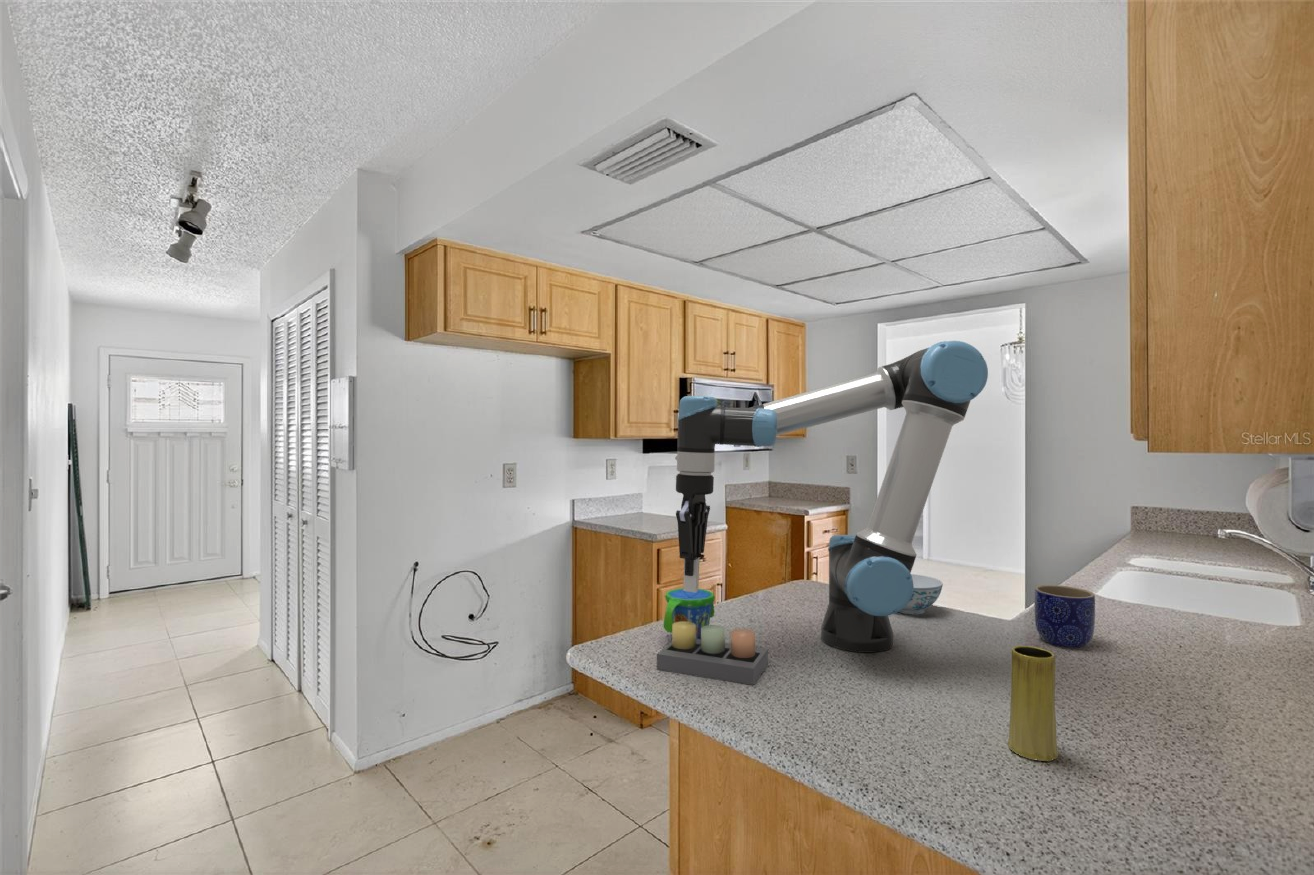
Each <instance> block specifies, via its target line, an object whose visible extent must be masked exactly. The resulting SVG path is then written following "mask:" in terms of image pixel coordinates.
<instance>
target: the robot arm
mask: <svg viewBox="0 0 1314 875" xmlns="http://www.w3.org/2000/svg"><path fill="white" fill-rule="evenodd" d="M988 370H989V369H988V364H987V361H986V359H985V358H984V356H983V355H982V353H981V352H980V351H979V350H978V349H977V348H976V347H975V346H973V345H971V344H970V343H967V342H964V341H961V340H949V341H946V340H944V341H939V342H937V343H934V344H932V345H931V346H929V347H926V348H924V349H921V350H918V351H915V352H914V353H911V355H908V356H905V357H904V358H902V359H900V360H896V361H895V362H892V363H889V364H886V365H881V366H879V367H878V368H877V369H876V371H875V372H874V373H871V374H867V375H863V376H861V377H856V378H853V379H850V380H845V381H842V382H839V383H835V384H832V385H828V386H823V387H820V388H817V389H813V390H810V391H806V392H805V391H804V392H802V393H798V394H794V395H792V396H788V397H783V398H780V399H777V400H776V399H775V400H773V401H770V402H764V403H763V404H760V405H758V404H757V405H754V406H751V407H725V406H718V403H717V402H718V401H717V398H716V397H714V396H706V395H705V396H703V395H687V396H686V395H685V396H683V397H682V398H681V399H680V400H679V403H678V404H679V406H678V415H677V416H678V418H677V449H676V450H677V451H676V452H677V453H676V455H675V457H674V459H675V460H676V471H677V472H679V473H677V475H675V491H676V492H677V493H679V494H682V501H681V507H680V509H681V510H676V511H675V516H676V521H677V534H678V547H679V548H678V551H679V552H678V553H679V556H678V557H679V559H683V580H682V581H683V584H682V585H683V586H682V587H683V591H688V592H695V593H696V592H697V591H698V589H699V581H700V559H705V554H704V552H705V546H706V538H707V529H708V520H709V515H710V510H711V506H710V505H708V504H707V502H706V501H707V499H706V495H711V494H713V492H714V480H715V479H714V475H712V473H714V472H715V461H716V460H715V458H716V457H715V456H716V451H715V450H716V449H715V448H716V445H719V446H720V445H722V446H724V445H727V446H728V445H729V446H740V447H741V446H742V447H743V446H745V447H757V448H760V447H761V448H762V447H771V446H773V445H775V443H776V442H777V436H780V435H785V434H788V433H792V432H796V431H799V430H804V429H807V428H810V427H811V428H812V427H814V426H818V425H822V424H826V423H830V422H833V421H837V420H840V419H841V420H842V419H844V418H848V417H853V416H856V415H859V414H864V413H868V412H872V411H875V410H880V409H882V408H886V409H887V410H889V411H893V410H898V409H900V408H904V410H905V412H906V414H905V416H904V419H903V422H902V424H901V428H900V431H899V434H898V436H897V440H896V443H895V446H894V449H893V451H892V454H891V457H890V459H889V463H888V466H887V469H886V472H885V474H884V477H883V480H882V483H881V486H880V489H879V492H878V495H877V497H876V500H875V503H874V506H873V510H872V513H871V515H870V518H869V520H868V521H869V522H868V524H867V527H866V528H864V529H863V530H860V531H858V532H856V534H834V535H832V536H831V537H830V538H829V544H828V549H827V551H828V605H827V608H826V612H825V614H824V617H823V620H822V623H821V626H820V639H821V641H822V642H823V643H825V644H827V645H829V646H831V647H833V648H835V649H836V648H838V649H840V650H844V651H850V652H858V653H876V652H877V653H878V652H884V651H888V650H890V649H891V648H893V647H894V645H895V638H894V637H895V636H894V635H895V634H894V630H893V627H892V624H891V621H890V619H889V616H892V615H895V614H897V613H898V612H899V611H900V610H902V609H903V608H904V607H905V606H906V605H907V604H908V603H909V601H910V599H911V597H912V594H913V587H914V586H913V579H912V575H911V574H912V570H913V568H914V565H915V561H916V558H917V555H918V554H917V552H916V551H915V549H914V547H913V540H914V538H915V535H916V532H917V529H918V526H919V524H920V521H921V518H922V514H923V512H924V509H925V506H926V503H927V500H928V497H929V494H930V491H931V489H932V486H933V483H934V481H935V478H936V474H937V471H938V469H939V466H940V463H941V460H942V457H943V455H944V454H943V453H944V451H945V449H946V446H947V442H948V440H949V438H950V437H949V436H950V434H951V432H952V429H953V426H955V425H956V424H959V423H961V422H963V421H964V420H965V418H966V415H967V412H968V410H969V406H970V404H971V401H972V400H973V399H975V398H977V397H978V395H980V394H981V392H982V391H983V390H984V388H985V387H986V384H987V381H988V378H989V371H988ZM899 613H900V612H899Z"/></svg>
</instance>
